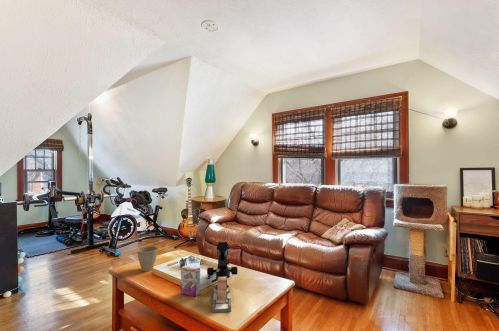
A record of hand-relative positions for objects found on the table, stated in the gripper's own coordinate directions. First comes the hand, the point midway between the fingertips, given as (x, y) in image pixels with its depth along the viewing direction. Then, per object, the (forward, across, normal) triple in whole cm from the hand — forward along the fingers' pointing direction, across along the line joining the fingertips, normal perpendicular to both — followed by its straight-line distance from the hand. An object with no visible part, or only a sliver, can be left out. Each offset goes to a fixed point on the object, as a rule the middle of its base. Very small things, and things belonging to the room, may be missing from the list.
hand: (222, 285), depth 153 cm
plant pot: (-29, -58, +41) cm, 77 cm away
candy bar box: (0, -20, +12) cm, 23 cm away
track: (+9, 0, +3) cm, 9 cm away
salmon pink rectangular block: (+8, 0, +1) cm, 8 cm away
